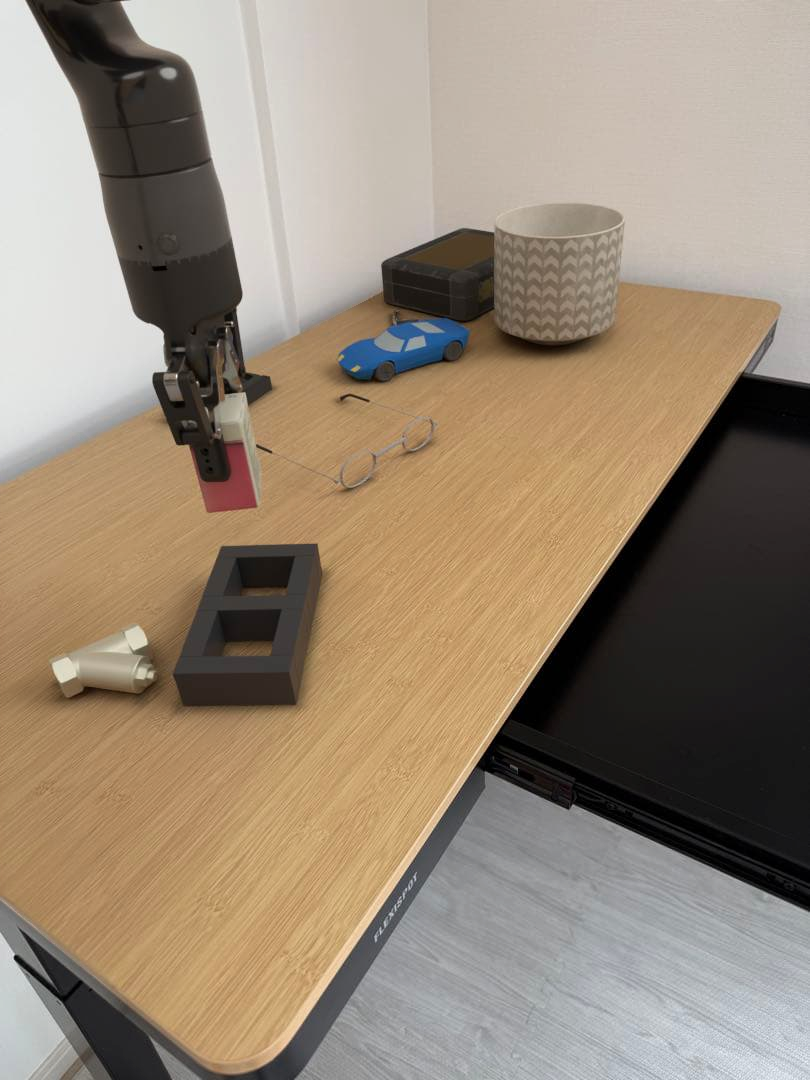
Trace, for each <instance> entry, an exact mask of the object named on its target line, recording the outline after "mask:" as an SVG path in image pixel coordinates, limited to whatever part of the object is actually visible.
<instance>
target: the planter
mask: <svg viewBox="0 0 810 1080" xmlns="http://www.w3.org/2000/svg"><path fill="white" fill-rule="evenodd" d="M625 223H626V217H625V215H624V214H623V213H622V212H621V211H619V210H617V209H615V208H612V207H609V206H606V205H600V204H594V203H587V202H573V201H571V202H564V201H563V202H544V203H543V202H542V203H535V204H534V203H533V204H529V205H524V206H519V207H515V208H511V209H509V210H508V209H507V210H506V211H504V212H502V213H500V214H499V215H498V216H496V217H495V219H494V224H493V225H494V227H493V229H494V231H493V232H494V307H493V321H494V323H495V325H496V327H497V328H498V329H500V330H501V331H502V332H504V333H506V334H509V335H512V336H514V337H518V338H520V339H522V340H525V341H527V342H531V343H533V344H536V345H541V346H552V347H553V346H565V345H570V344H574V343H577V342H580V341H582V340H585V339H586V338H591V337H594V336H597V335H599V334H602V333H604V332H606V331H607V330H609V329H610V328H611V327H613V325H614V323H615V321H616V316H617V305H618V296H619V295H618V294H619V287H620V285H619V284H620V274H621V264H622V254H623V244H624V243H623V242H624V235H625Z"/></svg>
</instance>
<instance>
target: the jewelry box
mask: <svg viewBox="0 0 810 1080" xmlns="http://www.w3.org/2000/svg"><path fill="white" fill-rule="evenodd" d="M380 267H381V279H382V280H381V281H382V282H381V283H382V292H383V293H382V294H383V300H384V302H385V303H386V304H390V305H393V306H397V307H401V308H406V309H410V310H414V311H418V312H422V313H426V314H431V315H434V316H439V317H442V318H447V319H450V320H455V321H459V322H468V321H471V320H473V319H475V318H477V317H478V316H480V315H482V314H484V313H486V312H488V311H489V310H491V309H494V231H487V230H481V229H475V228H468V227H462V228H459V229H456V230H454V231H451V232H448V233H446V234H443V235H441V236H439V237H437V238H434V239H432V240H429V241H427V242H425V243H422V244H420V245H417V246H415V247H412V248H410V249H408V250H405V251H403V252H400V253H398V254H395V255H393V256H391V257H388V258H386V259H385V260H383V261H382V262H381V265H380Z"/></svg>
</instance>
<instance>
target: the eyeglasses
mask: <svg viewBox="0 0 810 1080" xmlns="http://www.w3.org/2000/svg"><path fill="white" fill-rule="evenodd" d="M350 397H351V398H353V399H357V400H360V401H363V402H366V403H372V404H375V405H378V406H379V407H384V408H386V409H389V410H392V411H395V412H398V413H400V414H404V415H407V416H410V417H412V418H416V419H415V420H413V421H411V422H410V423H409V424H408V425H407V426H406V428H405V429H404V431H403V432H402V436H401V438H400V439H398V440H396V441H394V442H392V443H390V444H389V445H387V446H386V447H384V448H382V449H380V450H379V451H377V452H376V453H374V452H373V451H371V450H363V451H360V452H357V453H356V454H354V455H352V456H350V457H349V458H348V459H347V460H346V461H345V462H344V463H343V465H342V466H341V469H340V473H339V478H333V477H330V476H327V475H326V474H323V473H321V472H318V471H316V470H314V469H311V468H310V467H308V466H305V465H303V464H300V463H298V462H296V461H294V460H291V459H289V458H287V457H285V456H283V455H280V454H277V453H276V452H274V451H273V450H271V449H269V448H266V447H264V446H262V445H259V444H258V443H256V448H257V449H259V450H262V451H264V452H266V453H268V454H271V455H276V456H277V457H280V458H282V459H284V460H287V461H289V462H291V463H293V464H295V465H297V466H301V468H305V469H307V470H309V471H311V472H314V473H316V474H319V475H321V476H322V477H325V478H328V479H330V480H332V481H333V482H334V484H336V485H337V484H339V483H341V485H342V487H345V488H346V489H353V488H356V487H359V486H361V485H363V484H364V483H366V481H368V479H370V477H371V476H372V474H374V471H375V470H376V468H377V467H376V466H377V459H378V458H379V457H381V456H383V455H384V454H387V452H389V451H391V450H392V449H394V448H396V447H397V446H399V445H402V446H401V447H403V449H404V450H406V451H408V452H415V451H418V450H421V449H422V448H423V447H424V446H426V445H427V444H428V443H429V442H430V440H431V439H432V437H433V435H434V432H435V427H436V426H437V425H438V422H437V421H436V420H435V421H434V420H433V419H432V418H431V417H430V416H421V417H418V416H416V415H412V414H410V413H407V412H403V411H401V410H398V409H396V408H393V407H390V406H386V405H383V404H380V403H377V402H374V401H371V400H370V399H368V398H365V397H363V396H360V395H356V394H353V393H346V394H343V395H341V396H339V400H340V401H341V402H342V401H344V400H345V399H347V398H350ZM427 419H428V420H427ZM419 421H425V422H428V423H430V433H429V435H428V437H427V438H426V439H425V441H423V443H421V444H420V445H419V446H417V447H415V448H411V449H408V448H407V446H406V444H405V443H406V441H407V438H406V435H407V433H408V431H409V430H410V428H411V427H412V426H413V425H415V424H416V423H418V422H419ZM365 453H369V454H371V456H372V462H373V463H372V466H371V469H370V471H368V472H369V473H367V475H366V476H365V477H364V478H363V479H362V480H360V481H359V482H357V483H355V484H352V485H346V484H345V482H344V472H345V470H346V467H347V466H348V465H349V463H350V462H351V461H353V460H354V459H355V458H357V457H358V456H360V455H363V454H365Z"/></svg>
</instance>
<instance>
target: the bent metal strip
mask: <svg viewBox="0 0 810 1080" xmlns="http://www.w3.org/2000/svg"><path fill="white" fill-rule="evenodd" d="M399 314H400V310H393V314H392V315H391V316H392V319H391V321H392V324H393V326H395V325H400V324H404V323H408V322H416V321H420V320H419V318H407V319H406V318H405V319H398V318H397V316H396V315H399Z"/></svg>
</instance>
